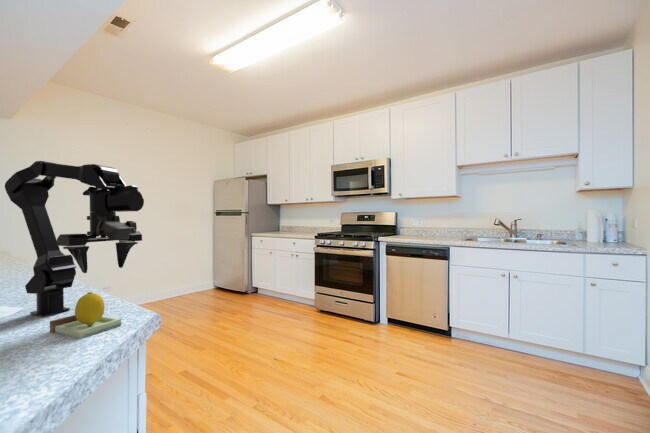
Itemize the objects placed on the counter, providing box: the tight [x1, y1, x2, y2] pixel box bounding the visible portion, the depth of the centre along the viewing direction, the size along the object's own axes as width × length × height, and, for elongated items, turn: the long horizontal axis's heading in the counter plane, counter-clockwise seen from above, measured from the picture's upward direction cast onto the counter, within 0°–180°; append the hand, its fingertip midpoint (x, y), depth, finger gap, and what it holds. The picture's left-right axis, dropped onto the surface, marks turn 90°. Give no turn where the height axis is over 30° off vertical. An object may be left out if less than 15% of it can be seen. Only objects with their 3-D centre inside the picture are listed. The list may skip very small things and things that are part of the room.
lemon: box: [74, 291, 106, 326], centre depth 73 cm, size 6×6×8 cm
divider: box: [49, 314, 78, 333], centre depth 76 cm, size 1×10×2 cm, turn 156°
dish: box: [54, 315, 122, 340], centre depth 73 cm, size 9×9×2 cm
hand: (103, 270), depth 84 cm, fingers open, 9 cm apart
